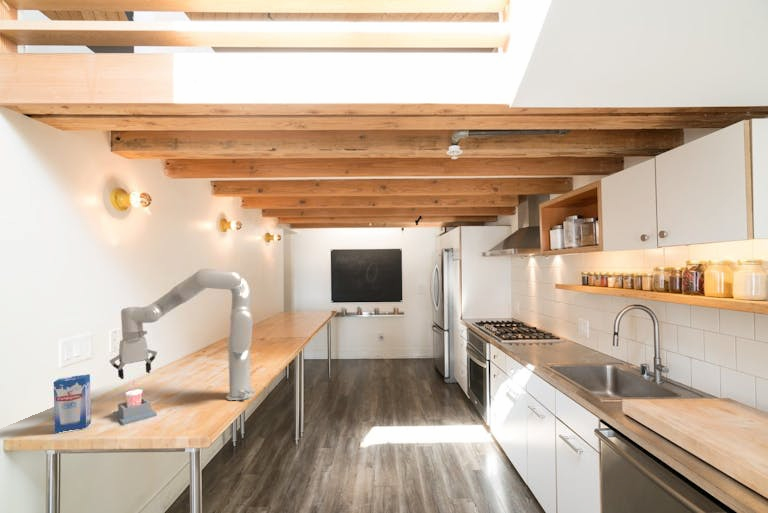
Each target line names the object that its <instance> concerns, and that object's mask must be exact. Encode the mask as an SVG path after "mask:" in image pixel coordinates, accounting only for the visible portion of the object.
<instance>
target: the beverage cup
mask: <svg viewBox="0 0 768 513" xmlns="http://www.w3.org/2000/svg"><path fill="white" fill-rule="evenodd" d="M135 383H136V382H135V379H133V380H132V384H133V385H132V387H133V388H132V390H129V391H126V392H125V396H126V402H127V406H128V407H132V406H136V405H140V404H141V398H143V397H142V394H143V389H142V388H141V389H140V388H139V389H135V388H136V386H135Z"/></svg>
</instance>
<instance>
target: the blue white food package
mask: <svg viewBox="0 0 768 513" xmlns="http://www.w3.org/2000/svg"><path fill="white" fill-rule="evenodd" d="M91 404H92V403H91V374H82V375H74V376H72V375H71V376H66V377H59V378H58V379H56V380H54V381H53V405H54V406H53V410H54V411H53V412H54V413H53V414H54V416H53V417H54V418H53V419H54V434H55V433H58V434H60V433H59V432H63V431H69V430H75V429H81V430H83V429H82V428H86V427H87V426H88V425H89V424H90V425H91V423H92V415H91V414H92V413H91V412H92V411H91V408H92V407H91V406H92V405H91ZM90 425H89V426H90ZM89 426H88V427H89ZM88 427H87V428H88ZM87 428H86V429H87Z"/></svg>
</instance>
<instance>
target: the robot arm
mask: <svg viewBox="0 0 768 513" xmlns="http://www.w3.org/2000/svg"><path fill="white" fill-rule="evenodd" d="M206 289H213V290H214V289H217V290H228V291H230V293H231V311H230V316H229V319H230V328H229V329H230V330H229V335H228V337H227V349H228V350H227V351H228V353H227V354H228V379H229V380H228V382H229V383H228V384H229V385H228V386H229V393H227V394H226V396H225V398H226V400H228V401H232V400H236V401H243V400H247V399H250V398H252V397H254V395H255V391H254V390H253V389H252V386H251V385H252V384H251V382H252V380H251V379H252V378H251V355H250V354H251V353H250V347H251V345H252V337H253V325H254V324H253V323H254V320H253V318H254V317H253V314H252V312H251V303H252V302H251V299H252V298H251V292H252V291H251V288H250V285H249V283H248V282H247V280H246V279H245V278H244V276H242V275H240V274H239V272H237V271H234V270H233V271H230V270H220V269H218V270H217V269H210V268H201V269H199V270H198V271H196V272H195V273H193V274H192V275H190V276H189V277H187V278H186V279H184V280H182V281H181V282H179V283H178V284H177V285H175V286H174V287H173V288H171V289H170V290H169V291H168V292H167V293H166V294H164V295H163V296H161V297H160V298H158V299H157V300H155V301H153V302H152V303H150V304H148V305H147V306H141V307H140V306H130V307H125V308H122V309H121V310H120V317H121V318H120V320H121V335H122V340H120V341H119V347H118V348H119V350H118V355H116V356H114V357H113V358H112V359H110V360H109V363H110V364H111V366H112V367H114V368H115V369H116V370H117V373H118V376H117V377H118V378H120V379H121V380H124V379H125V378H124V369H123V368H124V366H125V365H128V364H129V365H130V364H133V363H139V362H144V361H145V362H146V363H145V372H146V373H147V374H150V373H151V371H152V362H153V361H154V360H155V359H156V356H157V354H158V352H157V351H155V350H152V349H149V348H148V342H147V339H146V337H145V335H147V334H148V331H147V330H144V326H143V323H146V324H149V323H150V324H152V323H156V322H157V321H159V320H160V319H161V318H162V317H163V316H165V315H167V314H168V313H170V312H171V311H172V310H175V308H178V307H179V306H181V305H183V304H185V303H187V302H188V301H190V300H191V299H193V298H194V297H196V296H197V295H198V294H200V293H201V292H203V291H204V290H206ZM149 354H151V356H150V358H149ZM116 361H119V363H118V364H117V363H116Z"/></svg>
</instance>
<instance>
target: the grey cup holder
mask: <svg viewBox="0 0 768 513" xmlns="http://www.w3.org/2000/svg"><path fill="white" fill-rule="evenodd" d="M112 414H113V416H115V418H116V420H118V421H119V423H121V425H123V426H125V425H128V424H132V423H136V422H139V421H142V420H146V419H149V418H153V417H157V412H156V411H155V410H153V409H152V406H151V401H149V400H148V399H147V398H145V397H142V398H141V404H140V405H136V406H132V407H128V406H127V401H125V402H124V401H123V402H121V403H117V410H115V411H113V412H112Z"/></svg>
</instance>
